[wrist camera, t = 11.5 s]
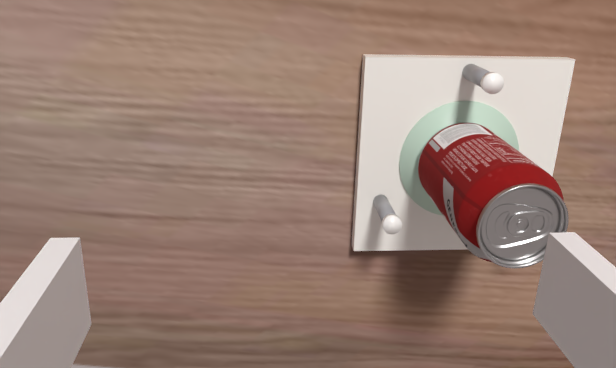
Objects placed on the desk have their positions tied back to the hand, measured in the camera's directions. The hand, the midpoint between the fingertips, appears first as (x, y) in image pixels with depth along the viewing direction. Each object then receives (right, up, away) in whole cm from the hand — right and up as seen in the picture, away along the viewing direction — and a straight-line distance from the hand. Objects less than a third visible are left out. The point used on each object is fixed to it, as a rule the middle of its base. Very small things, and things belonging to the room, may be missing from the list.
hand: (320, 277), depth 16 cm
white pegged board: (+12, +5, +30) cm, 32 cm away
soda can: (+11, +5, +29) cm, 31 cm away
